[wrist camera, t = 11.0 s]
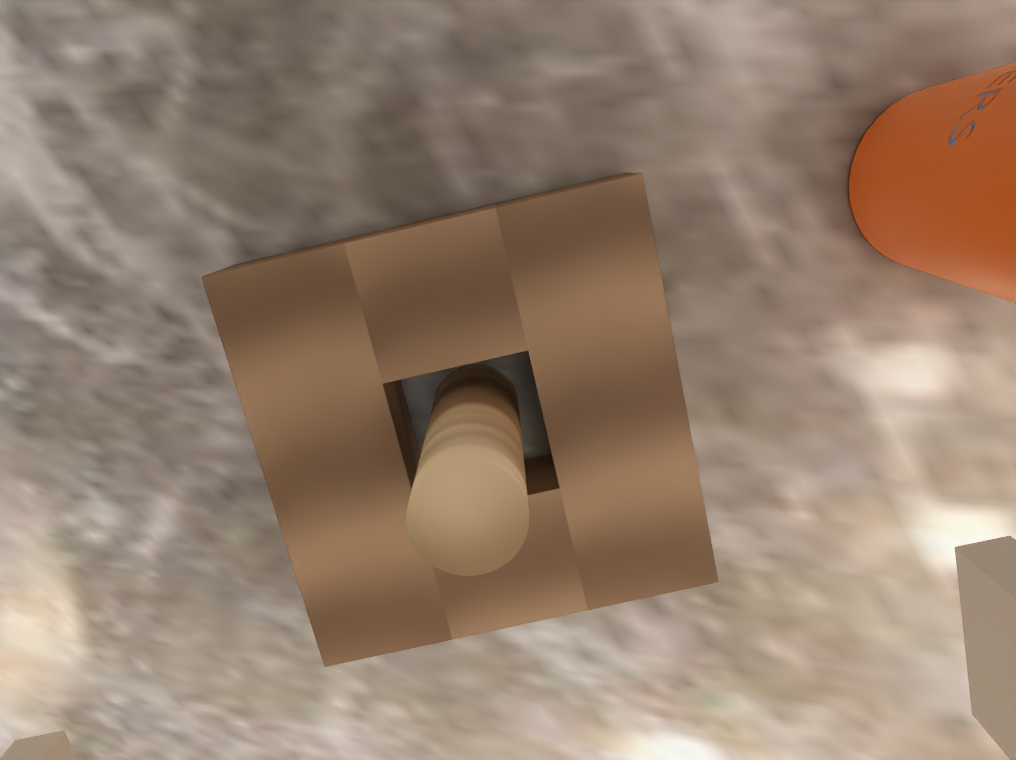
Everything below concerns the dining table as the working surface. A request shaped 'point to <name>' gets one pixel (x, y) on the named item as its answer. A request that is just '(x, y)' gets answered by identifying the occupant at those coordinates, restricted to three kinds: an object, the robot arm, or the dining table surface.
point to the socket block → (451, 343)
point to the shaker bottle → (944, 181)
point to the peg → (470, 476)
